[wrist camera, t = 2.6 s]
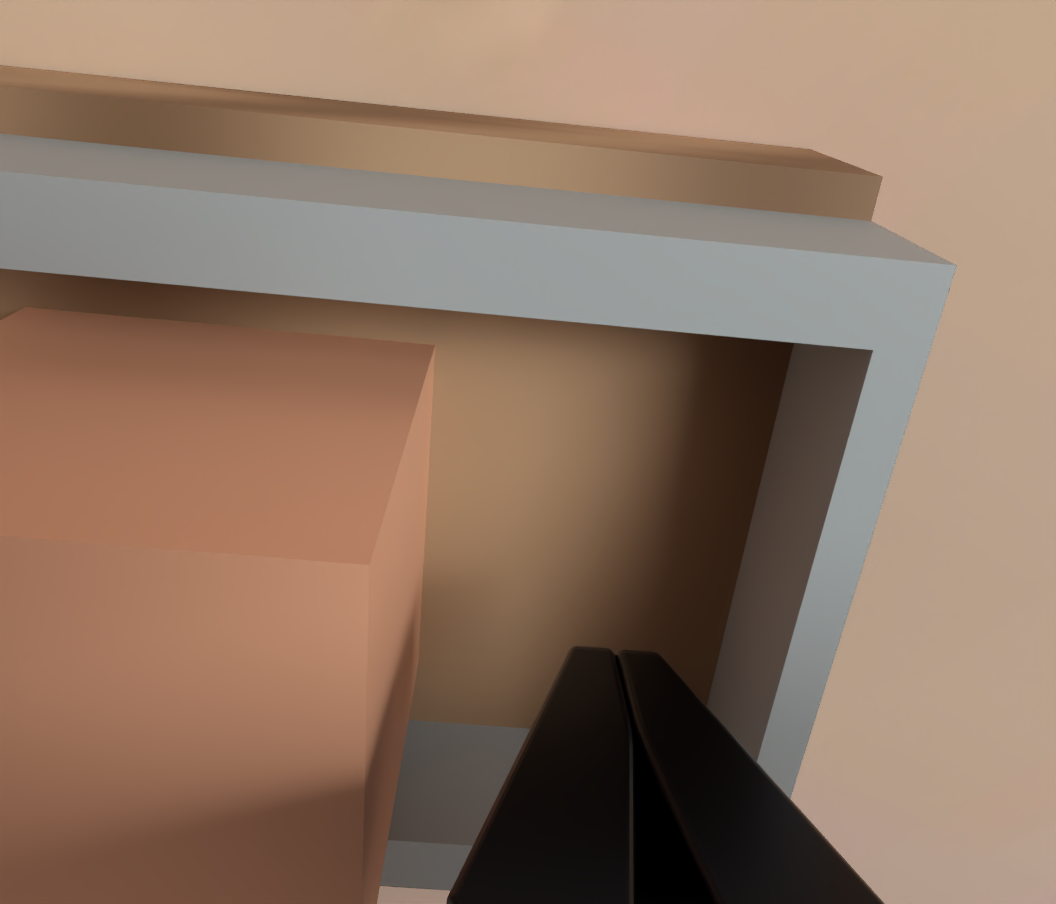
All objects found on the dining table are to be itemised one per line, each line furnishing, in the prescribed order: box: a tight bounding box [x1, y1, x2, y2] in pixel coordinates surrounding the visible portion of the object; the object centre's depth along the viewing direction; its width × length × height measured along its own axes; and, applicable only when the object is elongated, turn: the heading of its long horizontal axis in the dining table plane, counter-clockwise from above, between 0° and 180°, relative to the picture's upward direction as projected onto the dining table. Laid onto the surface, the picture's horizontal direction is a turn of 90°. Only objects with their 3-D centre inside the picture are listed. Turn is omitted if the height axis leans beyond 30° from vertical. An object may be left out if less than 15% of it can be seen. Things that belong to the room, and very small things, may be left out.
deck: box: [0, 65, 882, 729], centre depth 12 cm, size 20×9×2 cm, turn 84°
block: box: [0, 307, 435, 904], centre depth 8 cm, size 4×4×4 cm
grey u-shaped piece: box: [0, 134, 957, 890], centre depth 10 cm, size 9×8×2 cm
